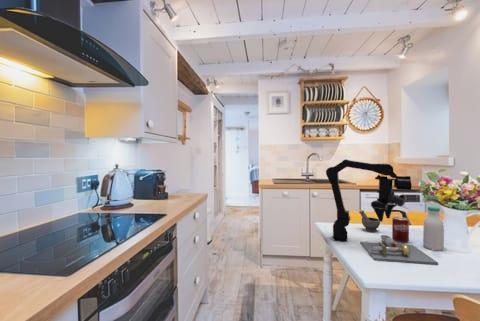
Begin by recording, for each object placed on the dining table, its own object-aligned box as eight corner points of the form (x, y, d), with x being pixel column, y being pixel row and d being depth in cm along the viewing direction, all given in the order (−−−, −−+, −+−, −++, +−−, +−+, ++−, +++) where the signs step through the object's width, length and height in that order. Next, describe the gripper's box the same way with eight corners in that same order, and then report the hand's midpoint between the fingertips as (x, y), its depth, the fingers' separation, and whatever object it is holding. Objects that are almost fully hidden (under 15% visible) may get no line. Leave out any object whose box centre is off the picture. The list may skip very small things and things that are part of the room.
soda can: (411, 243, 121) (411, 220, 120) (395, 242, 122) (395, 219, 122) (404, 238, 128) (404, 216, 128) (389, 238, 129) (390, 216, 129)
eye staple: (383, 258, 103) (383, 246, 103) (378, 254, 108) (378, 242, 108) (386, 259, 103) (386, 246, 103) (381, 254, 108) (381, 242, 108)
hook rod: (372, 254, 104) (372, 244, 104) (368, 250, 109) (368, 241, 109) (410, 257, 102) (410, 247, 101) (405, 253, 106) (405, 243, 106)
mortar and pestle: (378, 229, 145) (378, 209, 145) (382, 233, 136) (382, 213, 136) (357, 227, 149) (357, 208, 149) (360, 232, 140) (360, 211, 140)
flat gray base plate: (374, 260, 102) (374, 258, 102) (360, 243, 121) (360, 241, 121) (438, 264, 97) (438, 262, 97) (412, 246, 117) (412, 244, 117)
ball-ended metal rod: (379, 242, 120) (379, 234, 120) (388, 242, 119) (388, 235, 119) (389, 251, 108) (389, 243, 108) (398, 251, 107) (398, 243, 107)
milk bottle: (445, 252, 110) (445, 209, 109) (424, 249, 114) (424, 207, 113) (442, 246, 116) (442, 206, 116) (422, 243, 120) (422, 204, 120)
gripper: (397, 192, 106) (396, 227, 106) (410, 189, 118) (409, 220, 118) (371, 189, 114) (370, 221, 115) (385, 186, 126) (384, 215, 127)
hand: (384, 219), depth 118 cm, fingers open, 9 cm apart
